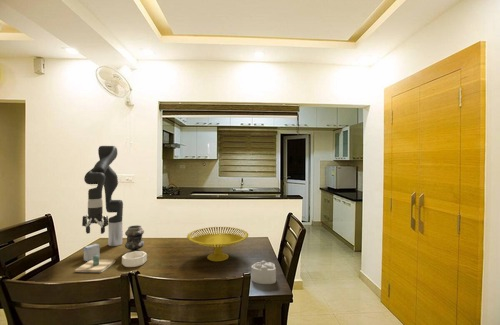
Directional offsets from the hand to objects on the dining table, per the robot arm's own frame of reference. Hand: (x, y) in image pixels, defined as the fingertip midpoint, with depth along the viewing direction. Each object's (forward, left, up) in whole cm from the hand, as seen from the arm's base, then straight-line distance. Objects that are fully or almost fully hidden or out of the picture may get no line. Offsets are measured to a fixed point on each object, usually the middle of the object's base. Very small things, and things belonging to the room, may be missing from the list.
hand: (95, 233), depth 154 cm
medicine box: (-12, -10, -20) cm, 25 cm away
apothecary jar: (-24, +12, -20) cm, 34 cm away
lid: (0, 0, -20) cm, 20 cm away
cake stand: (-19, +70, -20) cm, 76 cm away
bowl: (-7, +20, -20) cm, 29 cm away
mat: (0, 0, -20) cm, 20 cm away
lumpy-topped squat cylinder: (+11, +99, -20) cm, 102 cm away
